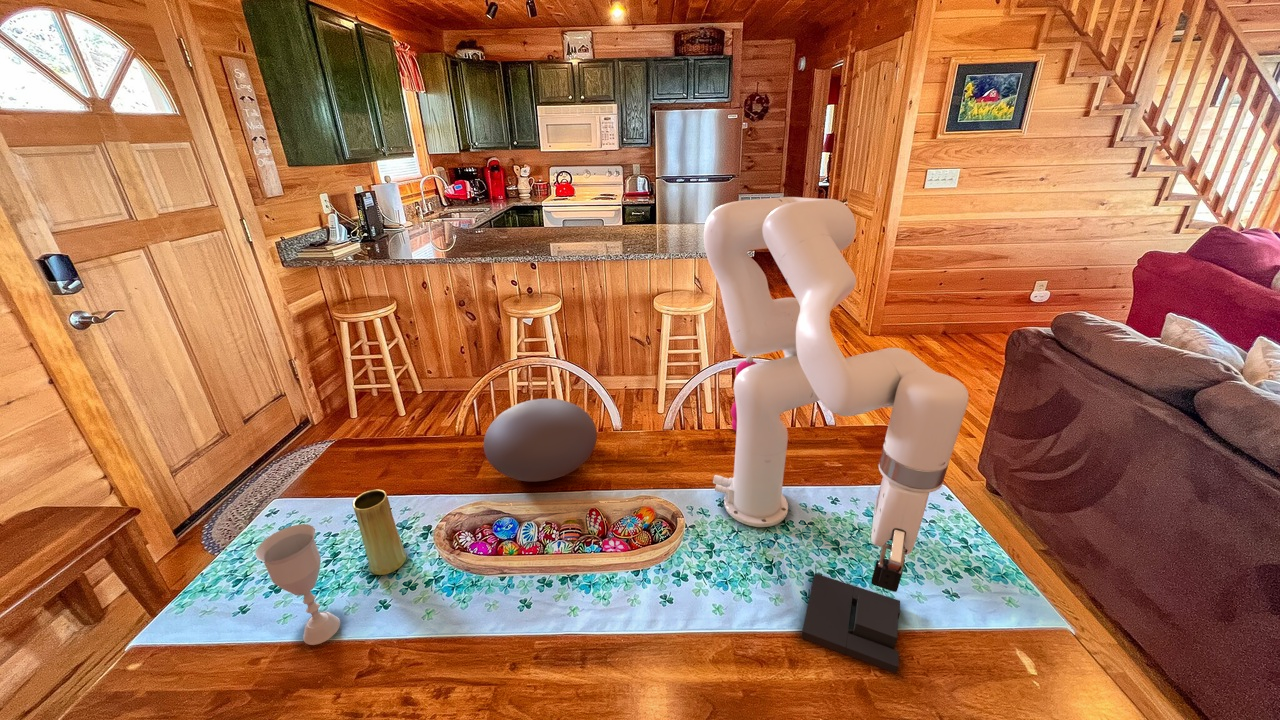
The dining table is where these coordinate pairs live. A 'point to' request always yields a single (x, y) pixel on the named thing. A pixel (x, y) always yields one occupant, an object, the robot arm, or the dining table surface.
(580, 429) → the flattened ellipsoid
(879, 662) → the base pad
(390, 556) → the vase
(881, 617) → the connector pad
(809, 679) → the dining table surface
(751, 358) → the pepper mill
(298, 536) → the chalice
